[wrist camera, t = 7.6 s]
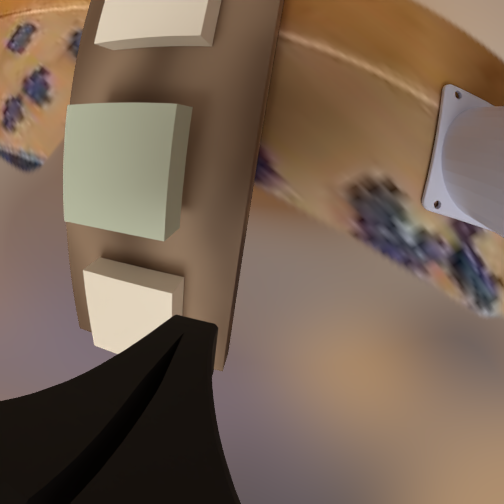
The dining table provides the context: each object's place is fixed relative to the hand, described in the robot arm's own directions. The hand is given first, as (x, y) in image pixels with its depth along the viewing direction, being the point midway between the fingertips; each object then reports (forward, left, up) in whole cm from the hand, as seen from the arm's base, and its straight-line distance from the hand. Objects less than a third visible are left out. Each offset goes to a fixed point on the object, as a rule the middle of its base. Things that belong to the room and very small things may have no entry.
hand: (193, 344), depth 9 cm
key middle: (+6, -4, -7) cm, 10 cm away
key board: (+6, -4, -10) cm, 13 cm away
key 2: (+6, +5, -8) cm, 12 cm away
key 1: (+6, -13, -8) cm, 17 cm away
